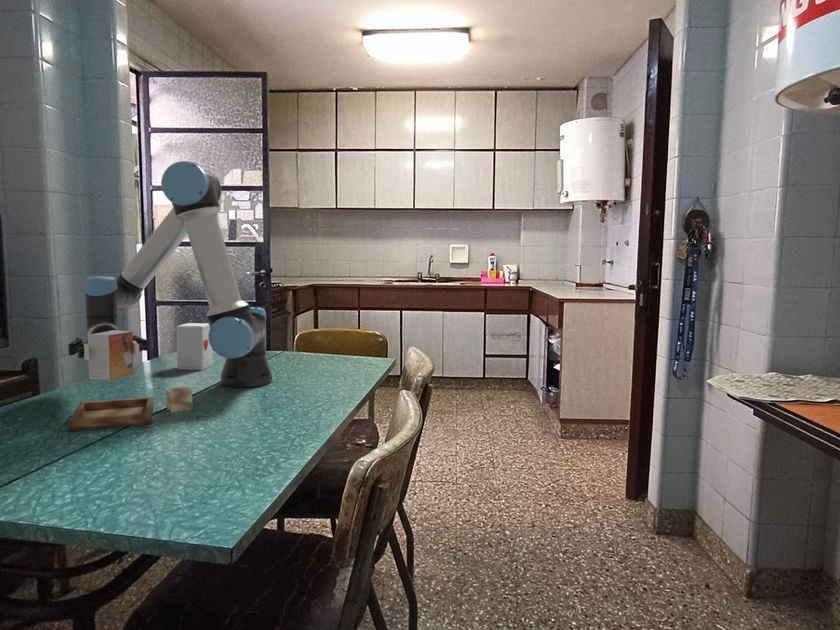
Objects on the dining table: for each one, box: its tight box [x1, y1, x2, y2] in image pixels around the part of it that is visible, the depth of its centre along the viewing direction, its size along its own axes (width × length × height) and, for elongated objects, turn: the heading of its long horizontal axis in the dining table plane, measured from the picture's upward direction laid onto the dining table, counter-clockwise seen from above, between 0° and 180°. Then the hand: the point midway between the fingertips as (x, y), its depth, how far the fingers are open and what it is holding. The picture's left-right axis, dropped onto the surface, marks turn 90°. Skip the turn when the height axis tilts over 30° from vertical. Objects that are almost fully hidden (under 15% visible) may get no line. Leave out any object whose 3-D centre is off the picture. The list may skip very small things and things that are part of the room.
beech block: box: [165, 386, 193, 413], centre depth 139 cm, size 5×5×5 cm
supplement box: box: [176, 322, 213, 371], centre depth 189 cm, size 9×9×15 cm
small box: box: [87, 329, 134, 381], centre depth 128 cm, size 8×6×10 cm
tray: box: [67, 396, 155, 433], centre depth 130 cm, size 16×16×2 cm
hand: (112, 352), depth 124 cm, fingers closed on small box, 9 cm apart
